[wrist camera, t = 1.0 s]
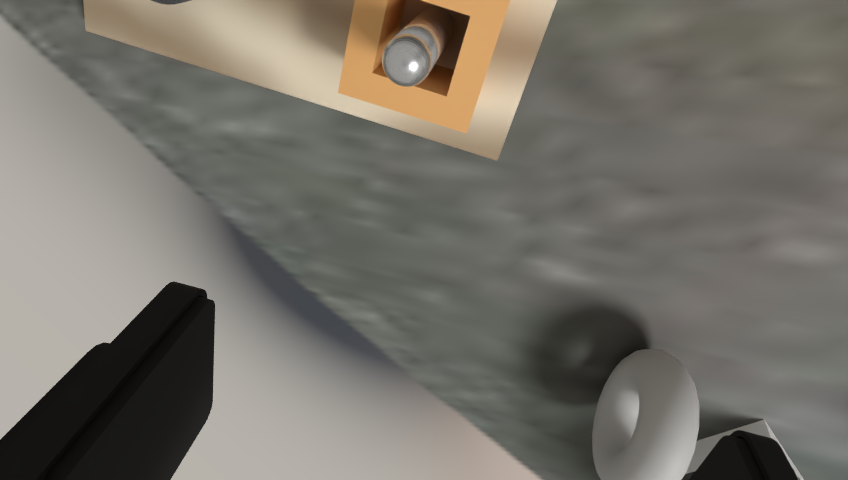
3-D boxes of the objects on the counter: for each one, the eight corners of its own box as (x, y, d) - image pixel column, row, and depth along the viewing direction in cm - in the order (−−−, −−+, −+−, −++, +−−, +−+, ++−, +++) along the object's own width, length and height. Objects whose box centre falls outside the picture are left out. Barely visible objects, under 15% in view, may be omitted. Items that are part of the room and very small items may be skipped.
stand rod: (421, 0, 28) (383, 31, 20) (458, 12, 28) (434, 48, 20) (411, 40, 29) (371, 83, 21) (447, 51, 29) (420, 99, 21)
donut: (637, 312, 37) (672, 429, 28) (685, 327, 37) (735, 449, 28) (577, 406, 42) (591, 528, 34) (619, 419, 42) (644, 545, 34)
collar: (390, -60, 26) (364, -56, 22) (514, -20, 26) (513, -9, 22) (364, 68, 30) (337, 92, 25) (474, 103, 30) (466, 133, 26)
